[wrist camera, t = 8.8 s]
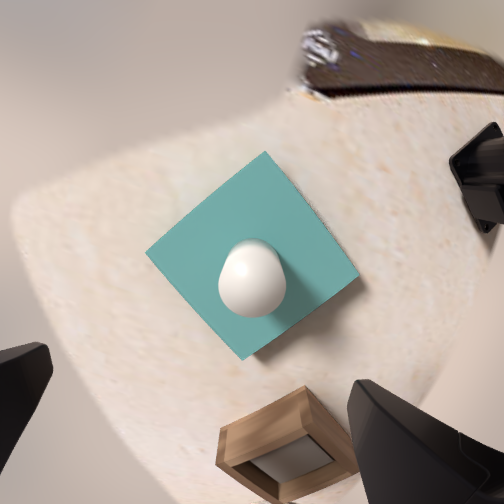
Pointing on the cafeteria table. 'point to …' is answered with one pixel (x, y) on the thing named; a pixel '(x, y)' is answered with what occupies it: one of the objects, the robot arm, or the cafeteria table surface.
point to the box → (287, 449)
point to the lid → (253, 258)
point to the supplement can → (263, 502)
